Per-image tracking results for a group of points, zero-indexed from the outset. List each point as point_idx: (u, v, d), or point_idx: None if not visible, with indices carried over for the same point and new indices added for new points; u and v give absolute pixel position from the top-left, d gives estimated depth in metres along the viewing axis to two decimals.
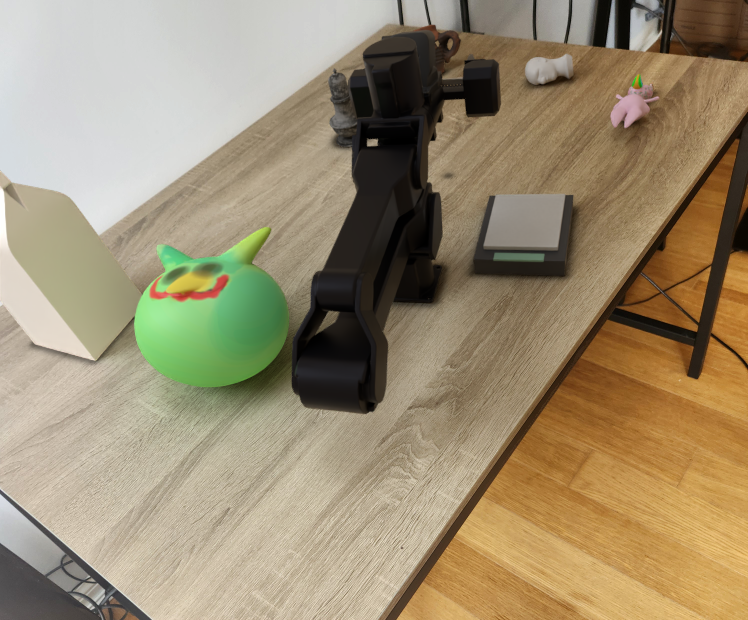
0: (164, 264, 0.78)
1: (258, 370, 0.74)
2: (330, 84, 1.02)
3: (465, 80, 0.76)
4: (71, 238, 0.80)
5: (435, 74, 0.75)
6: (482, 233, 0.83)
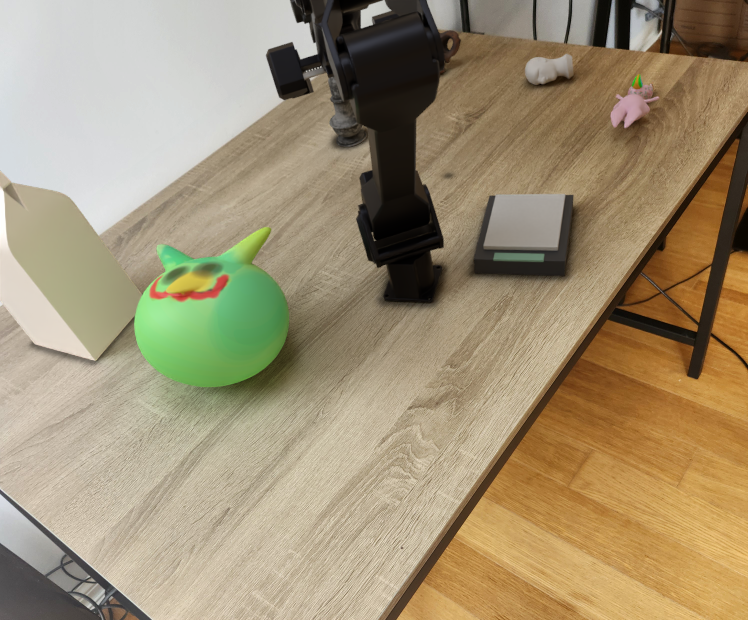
0: (164, 264, 0.78)
1: (258, 370, 0.74)
2: (330, 84, 1.02)
3: (376, 20, 0.84)
4: (71, 238, 0.80)
5: None
6: (482, 233, 0.83)
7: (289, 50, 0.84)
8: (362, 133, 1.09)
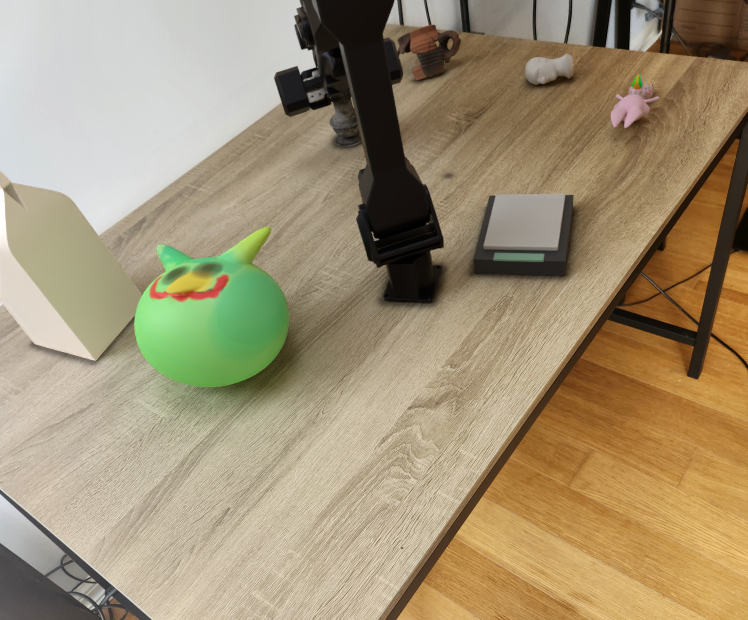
0: (164, 264, 0.78)
1: (258, 370, 0.74)
2: None
3: None
4: (71, 238, 0.80)
5: None
6: (482, 233, 0.83)
7: (294, 73, 0.95)
8: None
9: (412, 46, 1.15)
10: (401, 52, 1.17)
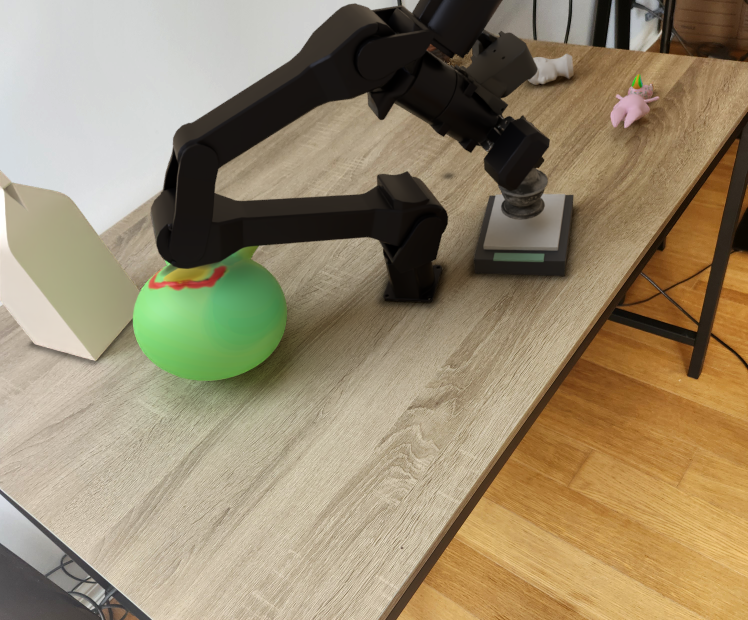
0: (166, 261, 0.79)
1: (253, 363, 0.73)
2: None
3: (511, 123, 0.65)
4: (72, 238, 0.80)
5: (498, 90, 0.65)
6: (482, 233, 0.83)
7: None
8: (526, 212, 0.79)
9: None
10: None
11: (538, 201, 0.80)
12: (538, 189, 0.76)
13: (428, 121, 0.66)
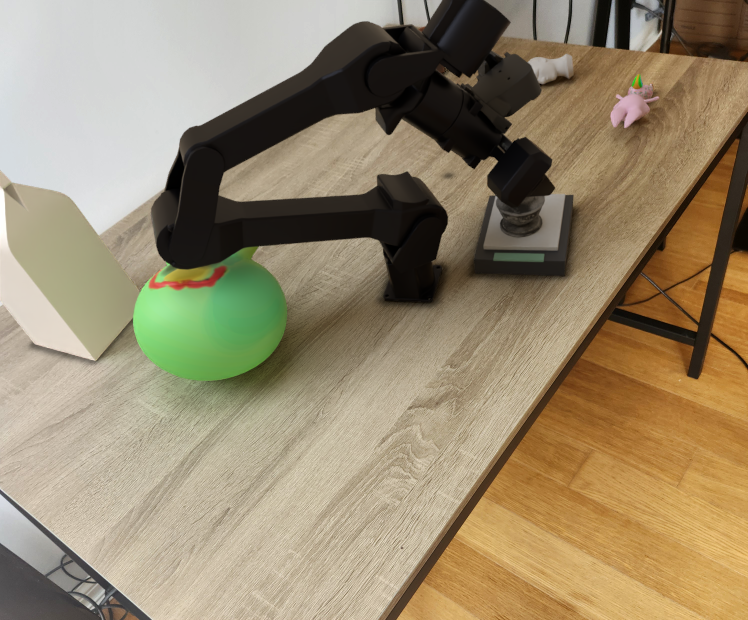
0: None
1: (253, 363, 0.73)
2: None
3: (515, 142, 0.66)
4: (71, 238, 0.80)
5: (503, 109, 0.67)
6: (482, 233, 0.83)
7: None
8: (524, 230, 0.80)
9: None
10: None
11: (536, 218, 0.81)
12: (535, 208, 0.78)
13: (434, 137, 0.68)
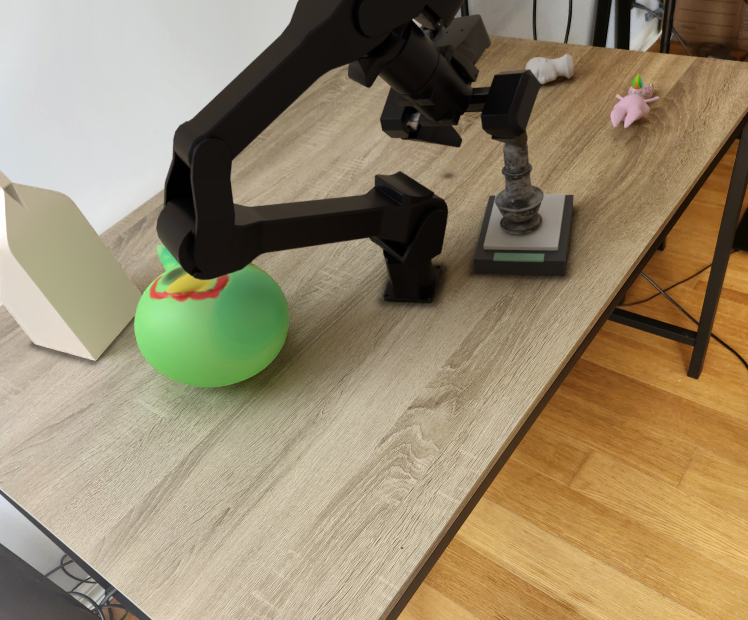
0: (164, 264, 0.78)
1: (258, 370, 0.74)
2: None
3: (496, 75, 0.65)
4: (72, 238, 0.80)
5: (470, 55, 0.66)
6: (482, 233, 0.83)
7: None
8: (524, 227, 0.80)
9: None
10: None
11: (536, 216, 0.81)
12: (534, 203, 0.78)
13: (417, 91, 0.64)
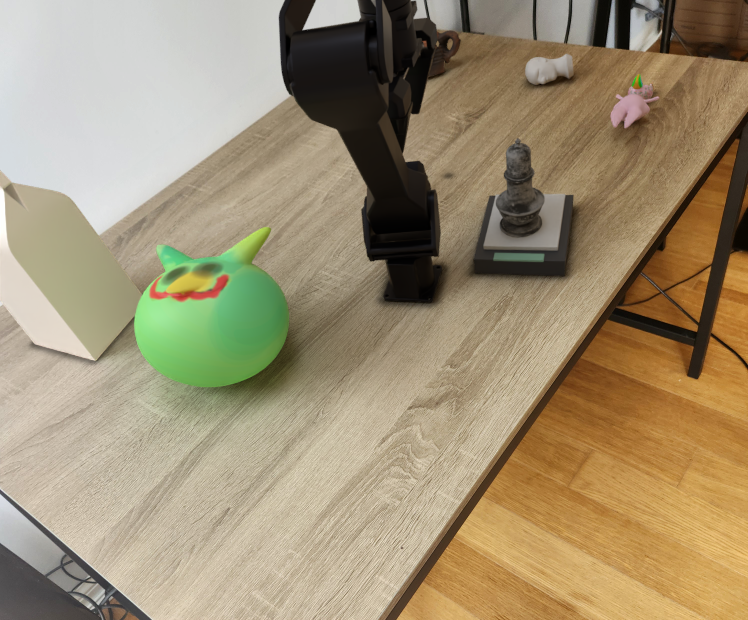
0: (164, 264, 0.78)
1: (258, 370, 0.74)
2: None
3: None
4: (72, 238, 0.80)
5: None
6: (482, 233, 0.83)
7: None
8: (523, 230, 0.80)
9: None
10: None
11: (536, 219, 0.81)
12: (534, 208, 0.78)
13: None
